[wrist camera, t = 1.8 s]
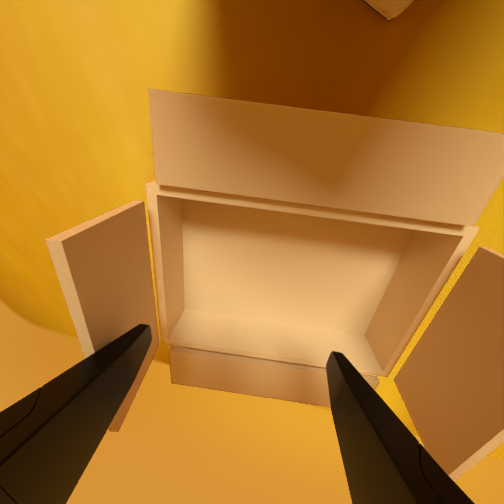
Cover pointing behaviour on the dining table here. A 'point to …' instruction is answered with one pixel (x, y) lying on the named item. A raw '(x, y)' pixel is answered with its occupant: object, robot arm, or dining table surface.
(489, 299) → the flap
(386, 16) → the tea box
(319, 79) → the dining table surface
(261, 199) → the carton
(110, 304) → the flap
